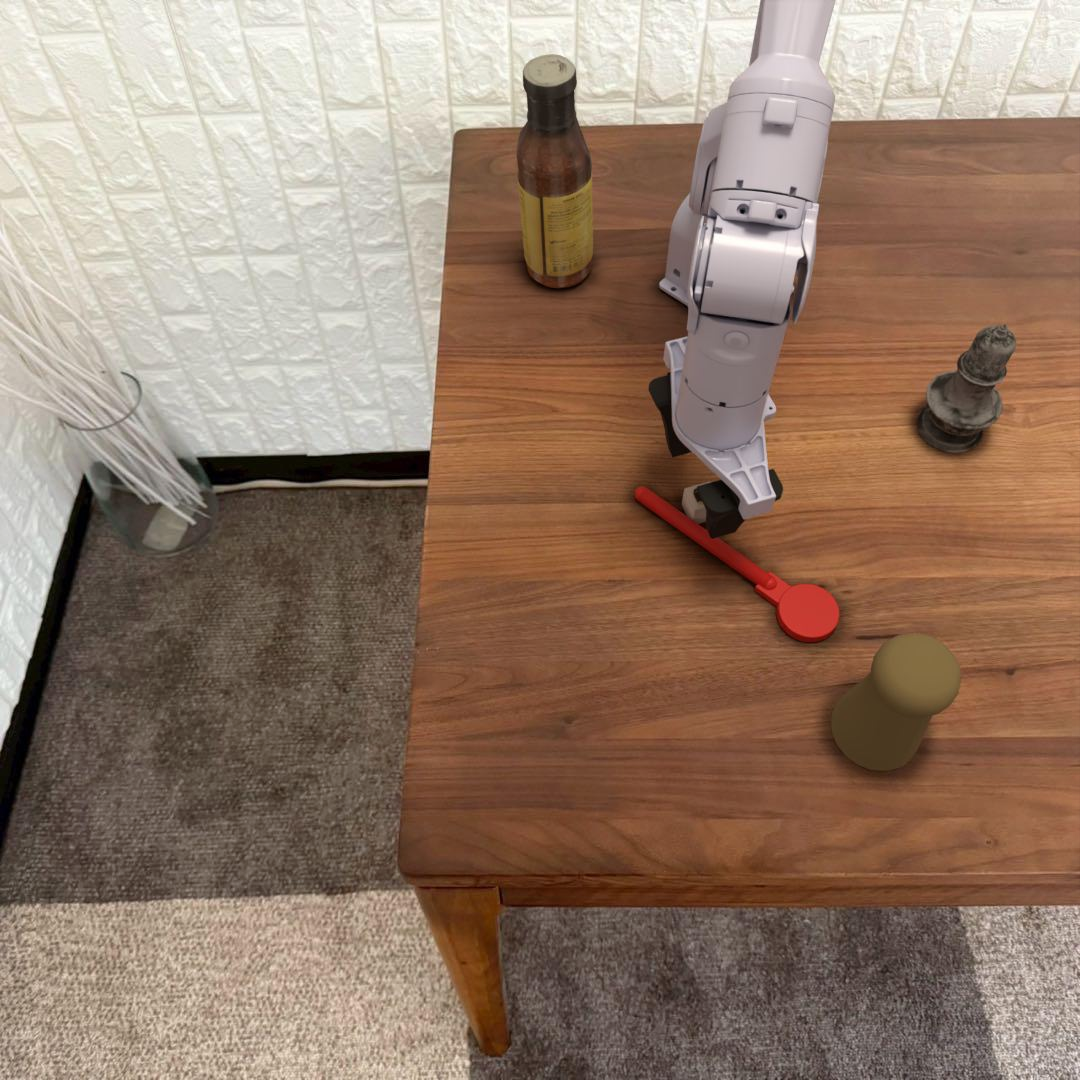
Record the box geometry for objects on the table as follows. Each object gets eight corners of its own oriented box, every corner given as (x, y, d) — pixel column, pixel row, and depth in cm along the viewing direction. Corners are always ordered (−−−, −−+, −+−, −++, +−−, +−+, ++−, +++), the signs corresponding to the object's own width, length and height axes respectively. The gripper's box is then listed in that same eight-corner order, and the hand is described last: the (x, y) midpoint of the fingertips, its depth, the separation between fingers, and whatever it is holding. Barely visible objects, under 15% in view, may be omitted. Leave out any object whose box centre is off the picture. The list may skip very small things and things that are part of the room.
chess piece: (986, 461, 81) (1049, 361, 71) (911, 449, 82) (962, 349, 71) (986, 404, 84) (1046, 301, 74) (913, 393, 85) (963, 289, 74)
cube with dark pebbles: (691, 526, 78) (695, 508, 76) (681, 504, 79) (684, 486, 77) (717, 518, 79) (721, 500, 76) (706, 496, 80) (710, 478, 78)
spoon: (618, 512, 79) (618, 503, 78) (653, 477, 81) (654, 468, 80) (814, 654, 73) (818, 647, 72) (848, 613, 74) (852, 605, 73)
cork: (821, 691, 71) (861, 622, 62) (906, 684, 71) (959, 613, 62) (842, 775, 68) (887, 715, 59) (930, 767, 68) (990, 706, 59)
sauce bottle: (603, 255, 93) (612, 56, 76) (575, 300, 91) (579, 105, 74) (538, 235, 95) (533, 35, 78) (509, 279, 92) (498, 82, 75)
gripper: (835, 443, 62) (791, 554, 73) (739, 279, 69) (713, 404, 80) (728, 473, 61) (701, 581, 72) (642, 304, 68) (630, 427, 79)
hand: (701, 490), depth 76 cm, fingers open, 7 cm apart
